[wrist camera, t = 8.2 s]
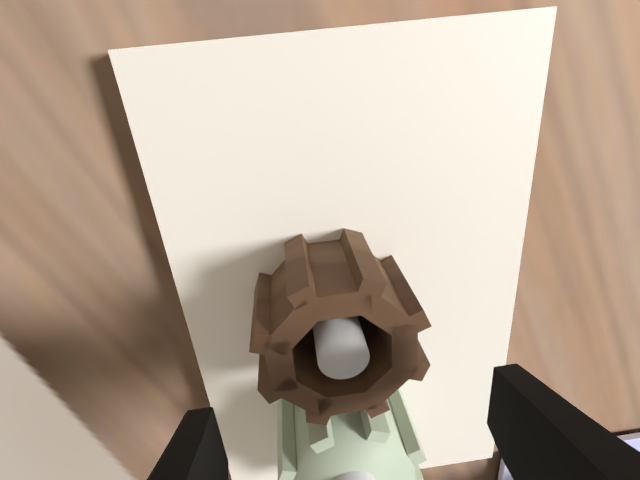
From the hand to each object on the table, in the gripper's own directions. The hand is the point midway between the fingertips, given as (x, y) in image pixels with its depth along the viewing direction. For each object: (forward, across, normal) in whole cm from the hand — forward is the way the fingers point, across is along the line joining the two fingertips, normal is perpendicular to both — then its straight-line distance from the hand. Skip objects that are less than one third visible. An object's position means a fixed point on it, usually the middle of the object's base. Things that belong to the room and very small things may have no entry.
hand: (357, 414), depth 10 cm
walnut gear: (+6, 0, 0) cm, 6 cm away
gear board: (+6, -1, +1) cm, 7 cm away
